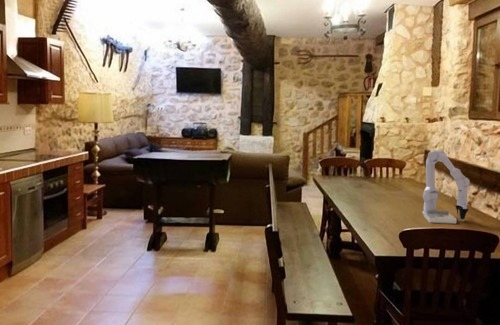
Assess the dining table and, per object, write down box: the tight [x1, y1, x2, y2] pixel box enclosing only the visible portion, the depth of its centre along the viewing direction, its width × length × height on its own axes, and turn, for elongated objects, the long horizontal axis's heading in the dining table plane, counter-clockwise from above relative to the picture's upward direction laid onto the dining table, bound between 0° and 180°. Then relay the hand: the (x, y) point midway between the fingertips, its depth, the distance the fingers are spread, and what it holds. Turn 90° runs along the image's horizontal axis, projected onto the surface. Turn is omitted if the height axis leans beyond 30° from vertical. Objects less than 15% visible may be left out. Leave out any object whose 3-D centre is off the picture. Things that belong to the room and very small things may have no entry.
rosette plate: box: [423, 209, 458, 225], centre depth 312 cm, size 18×16×5 cm
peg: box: [457, 209, 465, 222], centre depth 310 cm, size 3×3×7 cm
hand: (461, 217), depth 310 cm, fingers open, 6 cm apart
